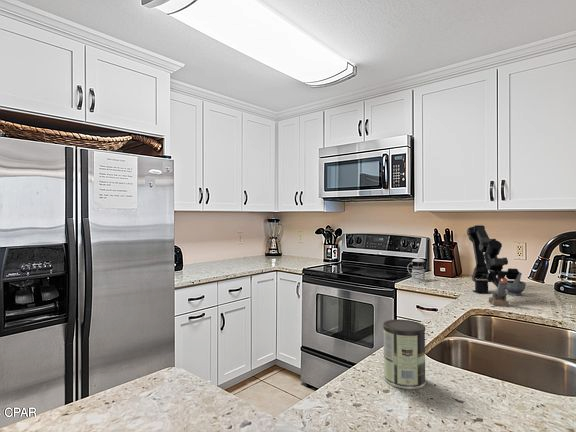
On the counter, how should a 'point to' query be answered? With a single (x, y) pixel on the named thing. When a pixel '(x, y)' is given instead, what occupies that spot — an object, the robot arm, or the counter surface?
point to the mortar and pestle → (516, 286)
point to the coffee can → (404, 354)
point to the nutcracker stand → (498, 301)
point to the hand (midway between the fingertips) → (499, 288)
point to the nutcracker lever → (501, 288)
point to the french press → (422, 271)
